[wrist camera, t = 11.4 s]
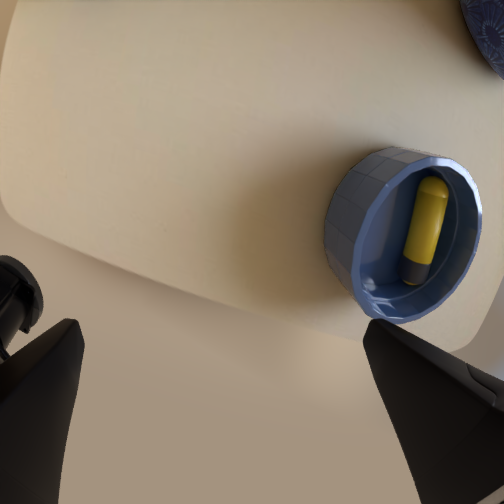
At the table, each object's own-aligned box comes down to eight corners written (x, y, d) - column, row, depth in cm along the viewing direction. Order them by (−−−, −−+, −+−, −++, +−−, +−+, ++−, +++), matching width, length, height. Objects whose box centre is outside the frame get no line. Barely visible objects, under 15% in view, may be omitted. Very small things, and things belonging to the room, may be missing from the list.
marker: (388, 277, 22) (409, 274, 23) (408, 293, 20) (429, 289, 21) (413, 170, 19) (433, 175, 20) (439, 178, 16) (458, 183, 17)
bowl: (386, 308, 25) (414, 341, 20) (288, 249, 21) (311, 285, 16) (459, 205, 22) (497, 224, 17) (382, 112, 17) (428, 115, 13)
